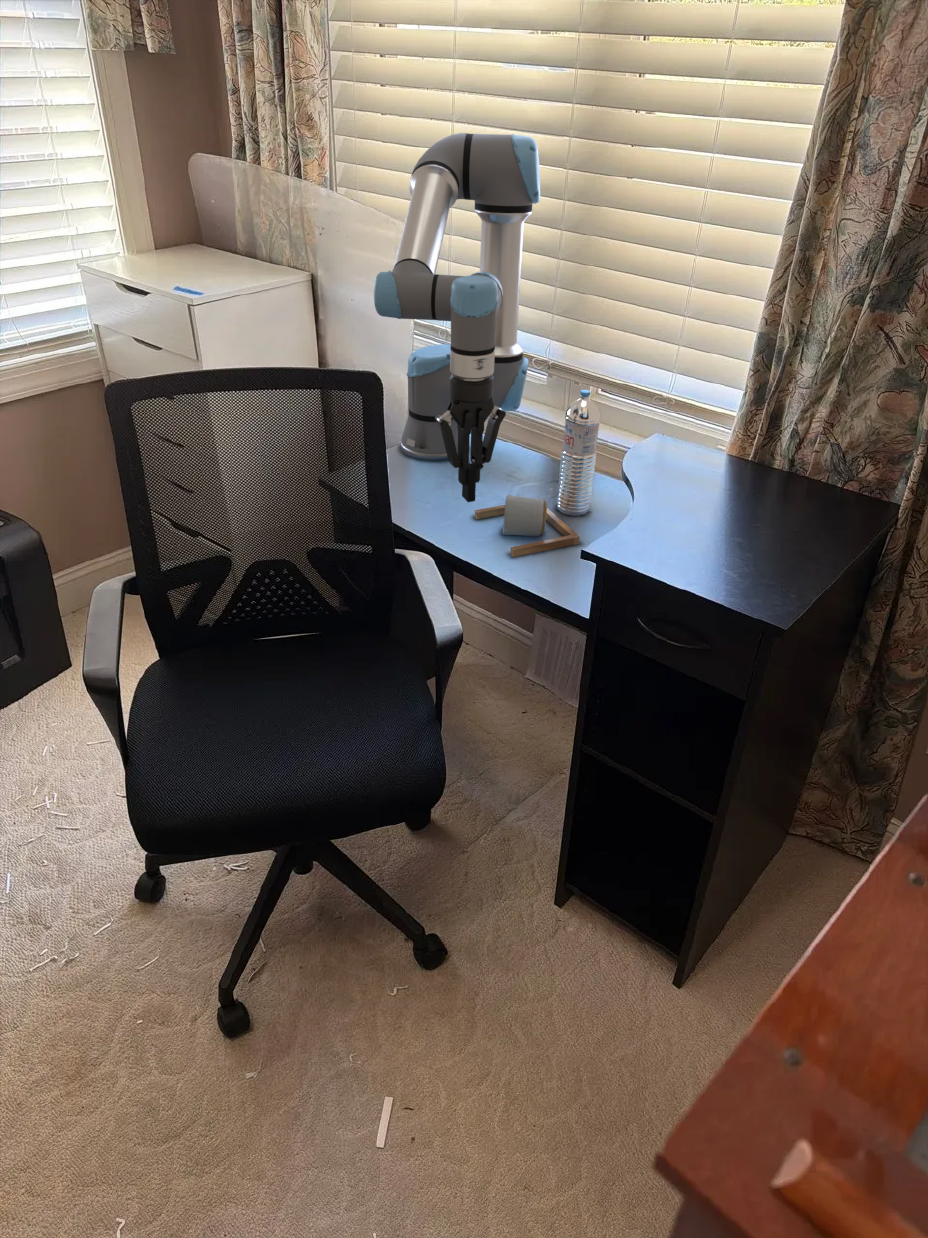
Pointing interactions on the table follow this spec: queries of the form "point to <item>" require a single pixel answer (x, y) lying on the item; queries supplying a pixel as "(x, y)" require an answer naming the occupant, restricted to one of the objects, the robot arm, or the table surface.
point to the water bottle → (578, 456)
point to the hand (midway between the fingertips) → (468, 498)
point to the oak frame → (530, 548)
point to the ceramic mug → (524, 516)
